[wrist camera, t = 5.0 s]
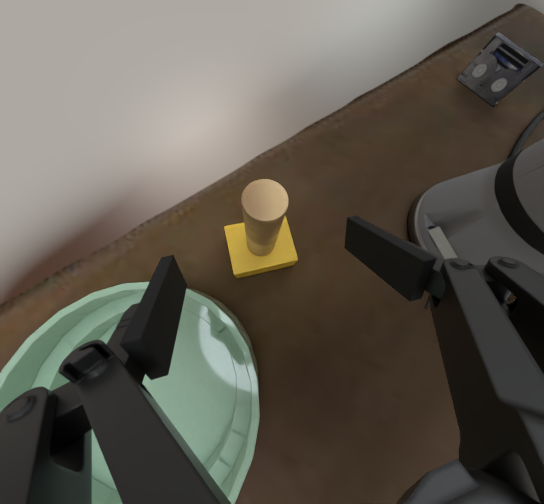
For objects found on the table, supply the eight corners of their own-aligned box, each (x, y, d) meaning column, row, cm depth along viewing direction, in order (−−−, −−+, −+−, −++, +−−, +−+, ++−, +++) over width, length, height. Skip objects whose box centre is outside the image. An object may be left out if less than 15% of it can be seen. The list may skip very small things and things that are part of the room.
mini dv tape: (496, 102, 35) (545, 62, 29) (492, 106, 34) (541, 66, 29) (460, 75, 36) (500, 31, 30) (456, 78, 35) (495, 34, 30)
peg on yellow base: (281, 224, 25) (305, 155, 13) (293, 265, 24) (330, 227, 12) (227, 235, 24) (202, 171, 12) (236, 278, 23) (217, 252, 11)
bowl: (170, 253, 23) (144, 237, 17) (295, 370, 21) (309, 392, 15) (7, 402, 18) (-98, 443, 12) (149, 574, 16) (95, 712, 10)
